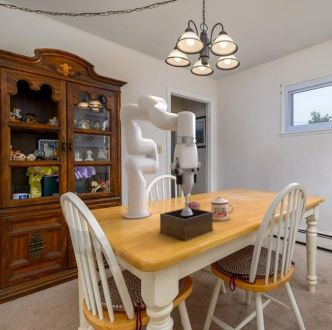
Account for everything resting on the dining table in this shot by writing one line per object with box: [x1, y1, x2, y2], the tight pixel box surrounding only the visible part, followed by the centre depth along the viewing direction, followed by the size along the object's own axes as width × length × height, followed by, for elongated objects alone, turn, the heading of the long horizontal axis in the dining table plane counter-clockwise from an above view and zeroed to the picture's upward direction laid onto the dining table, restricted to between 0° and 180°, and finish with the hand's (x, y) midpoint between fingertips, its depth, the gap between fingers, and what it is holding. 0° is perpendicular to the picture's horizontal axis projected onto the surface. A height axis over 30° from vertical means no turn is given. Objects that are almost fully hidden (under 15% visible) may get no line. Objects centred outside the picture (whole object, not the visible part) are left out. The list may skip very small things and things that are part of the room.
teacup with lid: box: [210, 195, 235, 222], centre depth 116 cm, size 12×9×12 cm
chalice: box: [179, 171, 195, 216], centre depth 95 cm, size 7×7×18 cm
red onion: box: [184, 194, 202, 210], centre depth 123 cm, size 9×8×12 cm
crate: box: [159, 207, 214, 242], centre depth 95 cm, size 16×16×8 cm
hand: (186, 183), depth 95 cm, fingers closed on chalice, 7 cm apart
